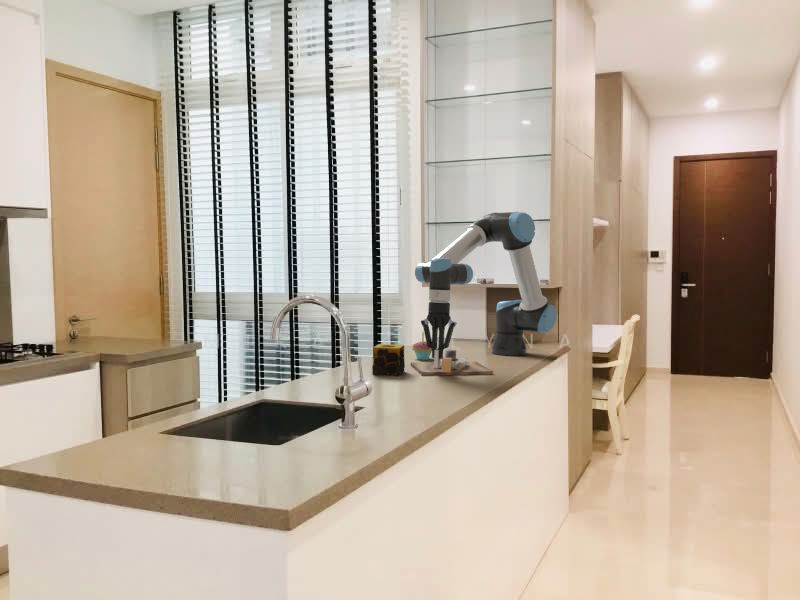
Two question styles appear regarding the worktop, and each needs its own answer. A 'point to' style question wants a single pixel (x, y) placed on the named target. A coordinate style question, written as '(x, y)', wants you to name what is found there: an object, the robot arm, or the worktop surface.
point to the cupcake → (422, 349)
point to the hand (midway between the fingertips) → (437, 367)
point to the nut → (451, 364)
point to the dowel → (458, 366)
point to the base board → (469, 369)
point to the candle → (388, 359)
